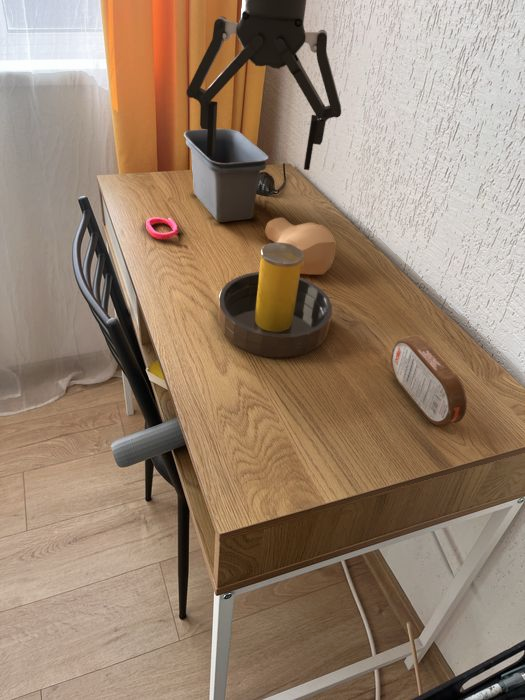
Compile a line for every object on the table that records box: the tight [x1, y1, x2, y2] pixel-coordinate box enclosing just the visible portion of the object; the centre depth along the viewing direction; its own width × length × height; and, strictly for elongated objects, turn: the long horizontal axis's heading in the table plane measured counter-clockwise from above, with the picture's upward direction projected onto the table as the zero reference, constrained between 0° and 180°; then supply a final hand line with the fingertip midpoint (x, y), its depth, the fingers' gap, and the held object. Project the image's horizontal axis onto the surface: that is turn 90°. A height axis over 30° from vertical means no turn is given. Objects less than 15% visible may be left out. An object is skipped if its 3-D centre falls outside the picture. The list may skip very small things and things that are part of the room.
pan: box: [217, 271, 333, 359], centre depth 88 cm, size 19×19×4 cm
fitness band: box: [145, 217, 179, 240], centre depth 110 cm, size 8×6×2 cm
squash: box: [264, 216, 336, 275], centre depth 104 cm, size 11×20×9 cm, turn 28°
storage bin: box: [183, 128, 270, 223], centre depth 118 cm, size 21×16×14 cm
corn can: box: [255, 242, 303, 332], centre depth 85 cm, size 6×6×13 cm
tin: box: [390, 334, 468, 427], centre depth 75 cm, size 15×3×8 cm, turn 21°
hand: (258, 160), depth 74 cm, fingers open, 13 cm apart
